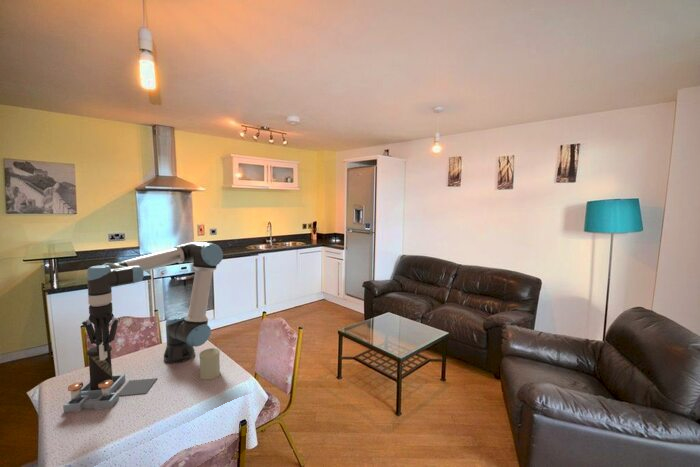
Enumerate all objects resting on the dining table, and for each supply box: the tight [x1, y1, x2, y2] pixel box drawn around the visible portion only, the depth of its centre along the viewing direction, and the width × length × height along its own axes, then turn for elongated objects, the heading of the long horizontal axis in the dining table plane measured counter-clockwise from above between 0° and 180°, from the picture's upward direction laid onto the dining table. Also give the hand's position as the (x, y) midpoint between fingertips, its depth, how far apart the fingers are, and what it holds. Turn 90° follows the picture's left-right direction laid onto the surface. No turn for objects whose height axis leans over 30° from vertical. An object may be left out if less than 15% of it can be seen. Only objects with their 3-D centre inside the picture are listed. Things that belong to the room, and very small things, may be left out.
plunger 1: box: [67, 381, 84, 403], centre depth 129 cm, size 5×5×6 cm
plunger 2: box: [98, 380, 114, 400], centre depth 131 cm, size 5×5×6 cm
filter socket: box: [81, 373, 126, 399], centre depth 142 cm, size 13×13×3 cm
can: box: [199, 347, 221, 381], centre depth 155 cm, size 9×9×12 cm
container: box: [86, 344, 114, 391], centre depth 141 cm, size 9×9×20 cm
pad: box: [118, 377, 158, 397], centre depth 144 cm, size 12×12×1 cm
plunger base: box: [62, 391, 120, 413], centre depth 131 cm, size 17×6×3 cm, turn 101°
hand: (103, 358), depth 130 cm, fingers closed
